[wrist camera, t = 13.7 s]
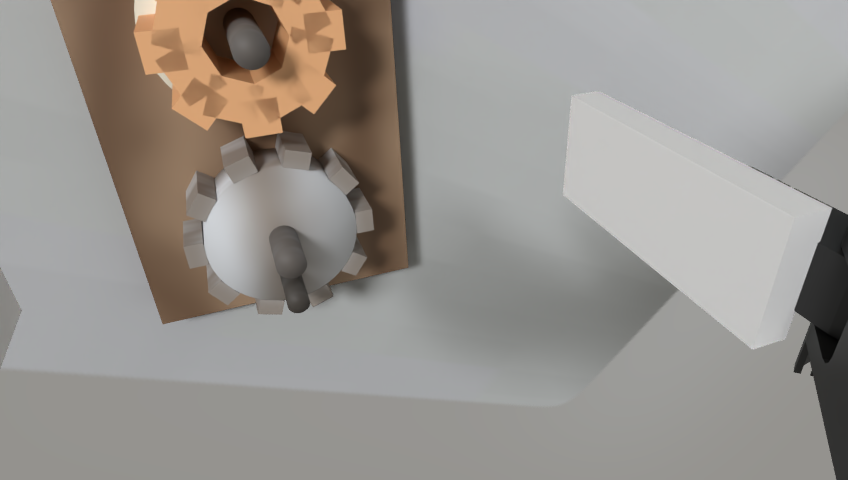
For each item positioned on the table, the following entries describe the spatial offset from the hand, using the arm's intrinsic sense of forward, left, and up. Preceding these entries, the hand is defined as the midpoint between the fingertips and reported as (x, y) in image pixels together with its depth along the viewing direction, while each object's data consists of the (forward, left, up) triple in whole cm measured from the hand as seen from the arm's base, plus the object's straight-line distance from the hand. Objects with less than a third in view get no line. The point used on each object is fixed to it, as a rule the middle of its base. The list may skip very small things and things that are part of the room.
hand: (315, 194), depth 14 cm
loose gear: (0, 0, -21) cm, 21 cm away
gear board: (0, +6, -23) cm, 24 cm away
